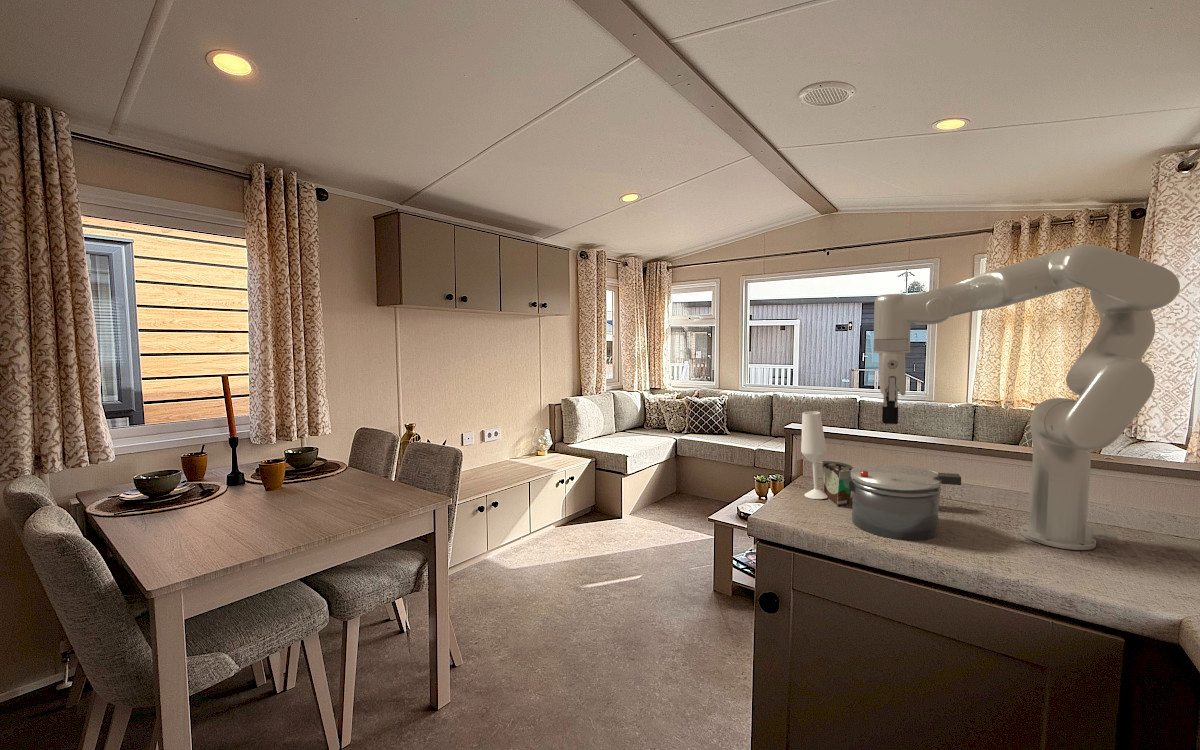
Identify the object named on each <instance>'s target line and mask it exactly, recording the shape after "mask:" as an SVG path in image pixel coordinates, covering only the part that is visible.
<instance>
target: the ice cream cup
mask: <svg viewBox="0 0 1200 750" xmlns="http://www.w3.org/2000/svg"><path fill="white" fill-rule="evenodd" d="M821 468H822V485H823V486H822V487H823V488H822V489H823V490H822V491H824V492H825V493H826V495H827V497H828V498H826V499H827V500H828V501H829V502H830V503H832V504H833V505H834V504H835V505H834V506H836V507H837V508H842V506H843V507H847V506H849V505H850V504H851V498H852V497H851V496H852V491H849V477H851V470H852V469H853V468H854V467H853V466H852V465H850V464H848V463H844V462H839V461H831V460H822V463H821Z"/></svg>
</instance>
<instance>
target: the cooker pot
mask: <svg viewBox="0 0 1200 750" xmlns="http://www.w3.org/2000/svg"><path fill="white" fill-rule="evenodd" d="M941 486H942V485H941ZM941 486H940V487H938V488H935V489H930V490H921V491H902V490H890V489H883V488H877V487H872V486H868V485H864V484H861V483H859V482H856V481H854V480H853V479H852V478H851V477H849V491H851V492H852V494H851V496H852V497H851V498H852V501H851V502H852V505H851V509H852V510H851V522H852V524H853V525H854V526H855V527H857V528H858V529H860V530H862V531H865V532H867V533H869V534H872V535H875V536H878V537H883V538H887V539H892V540H900V541H917V542H918V541H926V540H927V541H928V540H931V539H933V538H936V537H937V536H938V534H939V533H938V532H939V509H940V502H939V494H940V495H941V492H942V488H941Z"/></svg>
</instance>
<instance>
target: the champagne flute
mask: <svg viewBox="0 0 1200 750" xmlns="http://www.w3.org/2000/svg"><path fill="white" fill-rule="evenodd" d="M801 417H802V418H801V444H800V448H801V449H800V451H801V453H802V455H803V456H804V457H805V459H807V460H808V461H809V462H812V463H811V464H812V475H813V476H812V477H813V489H811V490H809V491H808V492H805V493H804V497H806V498H809V499H813V500H823V499H827V498H828V497H827V495H826V493H825V492H824V491H823V490H822V489H820V487H819V475H818V473H819V472H818V462H820V461H821V460H822V459H823V458H824V457H825V456H826V454H827V451H828V449H827V444H826V439H825V433H824V427H823V422H822V415H821V412H820V411H804V412H802V414H801Z"/></svg>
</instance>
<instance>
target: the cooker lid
mask: <svg viewBox="0 0 1200 750" xmlns="http://www.w3.org/2000/svg"><path fill="white" fill-rule="evenodd" d="M932 471H933V470H930V469H929V470H928V469H925V468H921V467H915V466H910V465H909V466H907V465H902V464H901V465H900V464H885V463H884V464H865V465H858V466H856V467H853V469H852V470H851V478H852V479H853V480H854V481H856V482H859V483H861V484H864V485H868V486H872V487H877V488H883V489H890V490H902V491H921V490H930V489H935V488H938V487H940V486H943V485H951V486H953V485H954V486H962V476H961V475H960V474H959V473H949V472H937V473H938V474H937V473H935V472H936V471H934V472H932Z"/></svg>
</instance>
